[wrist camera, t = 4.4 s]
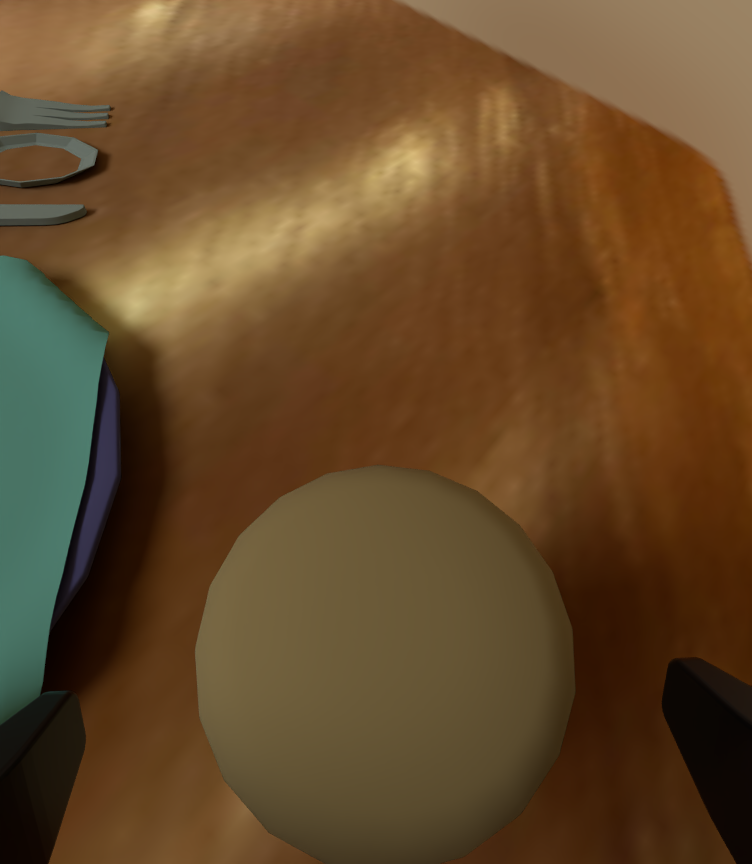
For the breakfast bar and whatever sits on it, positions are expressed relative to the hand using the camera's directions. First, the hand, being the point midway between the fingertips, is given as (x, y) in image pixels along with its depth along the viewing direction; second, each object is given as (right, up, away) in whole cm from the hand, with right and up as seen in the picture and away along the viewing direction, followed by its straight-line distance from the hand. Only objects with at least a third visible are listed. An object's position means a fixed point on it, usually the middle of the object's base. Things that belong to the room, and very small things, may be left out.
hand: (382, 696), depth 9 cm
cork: (0, -3, +8) cm, 9 cm away
